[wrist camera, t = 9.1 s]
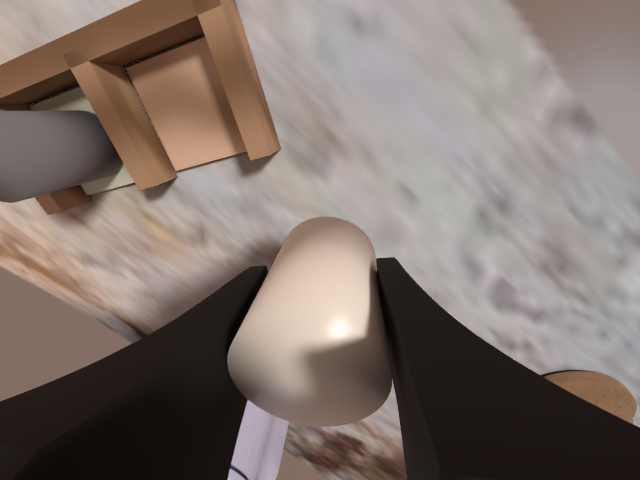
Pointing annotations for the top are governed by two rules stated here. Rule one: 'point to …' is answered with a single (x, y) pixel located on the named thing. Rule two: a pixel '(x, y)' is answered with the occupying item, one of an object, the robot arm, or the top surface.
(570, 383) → the candle holder
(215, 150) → the open-sided tray
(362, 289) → the cream plug
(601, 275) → the top surface
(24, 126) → the charcoal plug
